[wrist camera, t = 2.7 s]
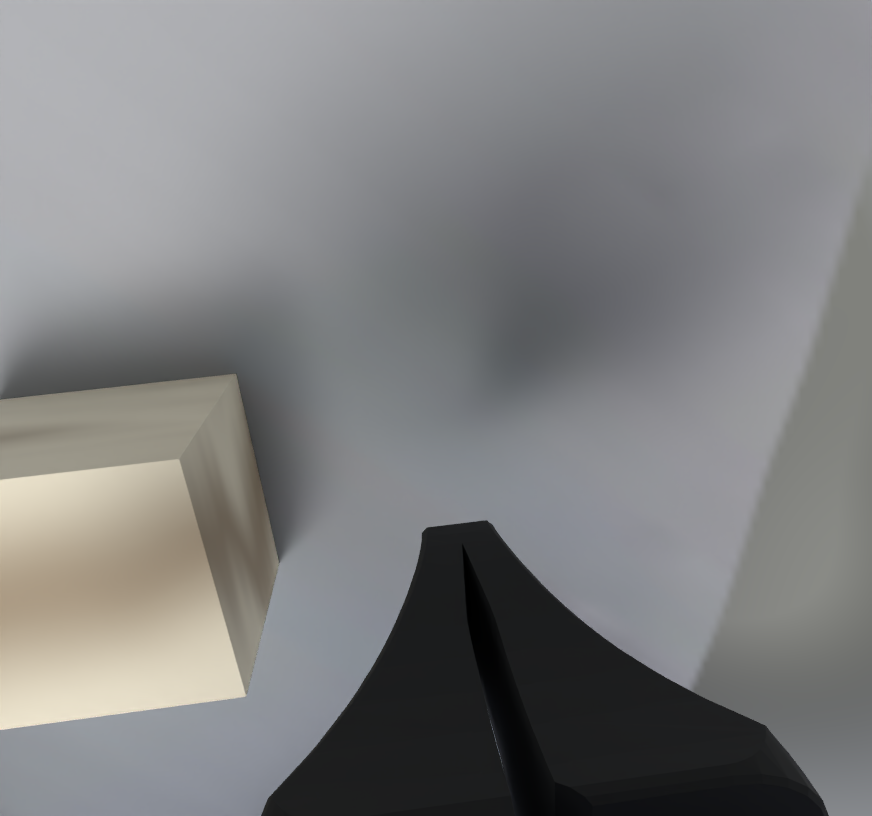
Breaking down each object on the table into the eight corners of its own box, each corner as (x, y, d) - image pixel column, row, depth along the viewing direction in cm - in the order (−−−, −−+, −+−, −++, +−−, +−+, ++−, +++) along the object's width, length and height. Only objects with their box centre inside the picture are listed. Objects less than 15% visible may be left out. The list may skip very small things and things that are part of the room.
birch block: (280, 560, 18) (246, 696, 14) (75, 585, 18) (-30, 733, 13) (237, 372, 16) (179, 459, 11) (2, 397, 16) (-157, 498, 11)
